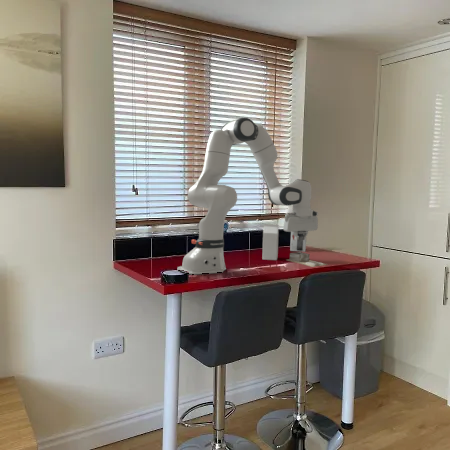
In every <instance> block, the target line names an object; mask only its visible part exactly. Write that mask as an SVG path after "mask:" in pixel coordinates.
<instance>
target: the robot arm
mask: <svg viewBox="0 0 450 450" xmlns="http://www.w3.org/2000/svg"><path fill="white" fill-rule="evenodd" d="M243 143H245V144H247V146H248V147H249V148H250V151H251V154H252V155H253V157H254V159H255V161H256V163H257V165H258V168H259V170H260V173H261V175H262V178H263V180H264V182H265V186H266V187H267V193H268V194H267V196H268V200H269V201H270V203H271V204H272V205H274V206H285V207H289V206H292V212H287V213H286V214H285V216H284V220H283V227H282V230H283V231H284V232H286V233H287V232H288V233H291V232H293V235H294V240H299V237H298V236H297V234H298V231H306V234H303V240H306V241H307V236H308V234H309V232H311V231H313V232H314V231H317V230H318V228H319V219H318V216H319V212H318V211H316V210H314V209H312V207H311V206H312V205H311V200H312V184H311V182H309V181H308V180H304V179H299V178H297V179H295V180H294V181H292V182H291V183H289V184H286V185H282V184H281V183H280V181H279V179H278V176H277V174H276V172H275V168H274V167H275V166H274V165H275V163H276V162H277V159H278V156H279V155H278V151H277V147H276V145H275V143H274V142H273V139H272V138H271V136H270V134H269V133H268V131H267V129H266V128H265V127H264V126H263V125H259V124H255V122H254V121H253V120H252V119H251V118H249V117H239V118H238V119H237V118H236V119H233V120H230V121H229V122H227V123H225V124H223V126H222V127H221V129H216V130H213V131H212V132H211V133H210V135H209V137H208V140H207V144H206V150H205V155H204V160H203V161H204V163H203V167H202V170H201V173H200V176H198V179H197V180H196V182H195V183H194V184H193V185H191V186H190V188H189V189H188V192H187V200H188V202H189V204H191V205H192V206H195V207H198V208H202V209H203V208H204V209H207V213H206V215H205V217H203V218H201V220H200V221H199V225H198V227H199V228H198V231H199V232H198V238H197V240H196V239H191V244H193V245H195V247H193V249H191V250H190V251H189V252H187V254H185V255H184V257H183V259H182V265H180V266H177V271H178V270H184V271H188V272H189V274H188V275H192V274H194V275H203V274H202V273H209V274H218V273H217V272H222V273H224V271H226V270H227V268H226V262H225V257H224V255H225V254H224V249H225V238H224V227H225V220H226V218H227V215H228V213H229V212H230V210H231V209H232V208H233V207H235V206H236V204H237V201H238V193H237V191H236V189H235V188H234V187H231V186H229V185H226V184H218V183H219V182H220V180H221V179H222V178H223V177H225V176H226V175H227V173H228V172H229V164H230V156H231V149H232V147H233V146H235V145H239V144H240V145H241V144H243Z"/></svg>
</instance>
